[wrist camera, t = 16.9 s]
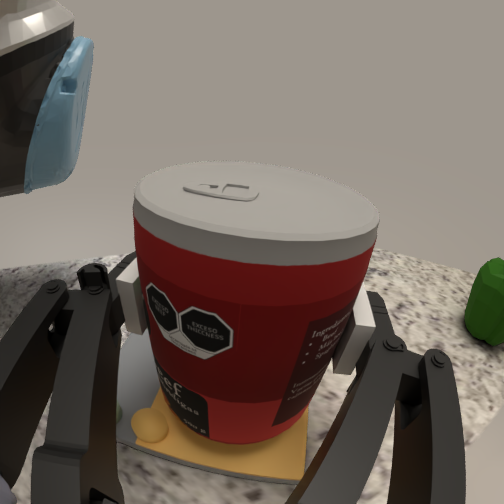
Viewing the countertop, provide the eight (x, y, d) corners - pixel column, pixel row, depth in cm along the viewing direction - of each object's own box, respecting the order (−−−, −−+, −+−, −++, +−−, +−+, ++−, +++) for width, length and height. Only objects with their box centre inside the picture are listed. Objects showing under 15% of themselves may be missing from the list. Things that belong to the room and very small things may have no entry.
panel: (84, 425, 13) (72, 410, 12) (179, 271, 29) (179, 254, 28) (297, 484, 11) (306, 476, 10) (306, 294, 28) (311, 277, 27)
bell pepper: (445, 306, 27) (479, 230, 22) (488, 311, 27) (520, 244, 22) (470, 357, 20) (521, 271, 15) (514, 355, 19) (558, 282, 14)
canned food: (163, 340, 17) (149, 159, 11) (286, 334, 18) (322, 167, 13) (164, 454, 10) (97, 239, 5) (325, 434, 12) (432, 241, 7)
